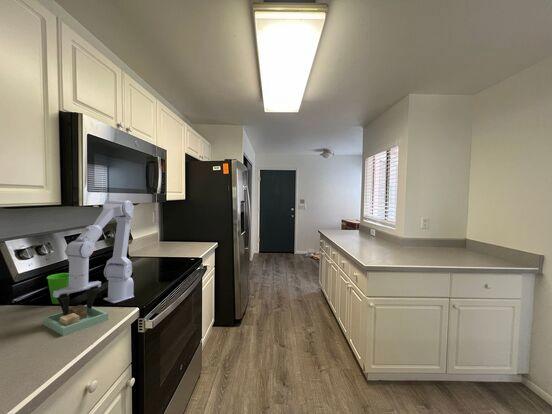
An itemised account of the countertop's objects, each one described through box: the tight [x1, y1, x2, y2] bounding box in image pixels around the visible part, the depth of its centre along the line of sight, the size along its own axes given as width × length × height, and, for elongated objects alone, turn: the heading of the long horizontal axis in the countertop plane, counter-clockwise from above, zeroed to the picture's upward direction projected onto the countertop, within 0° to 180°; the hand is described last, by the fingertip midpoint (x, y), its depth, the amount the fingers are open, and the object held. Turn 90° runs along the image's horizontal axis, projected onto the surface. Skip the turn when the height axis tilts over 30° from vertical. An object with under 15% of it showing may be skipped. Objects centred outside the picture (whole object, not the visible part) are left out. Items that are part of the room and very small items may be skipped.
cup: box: [46, 272, 70, 305], centre depth 113 cm, size 9×9×11 cm
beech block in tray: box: [60, 313, 79, 326], centre depth 90 cm, size 4×4×4 cm
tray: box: [42, 304, 109, 337], centre depth 95 cm, size 14×14×3 cm
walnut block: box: [69, 304, 87, 320], centre depth 98 cm, size 4×4×4 cm
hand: (77, 311), depth 97 cm, fingers open, 7 cm apart
